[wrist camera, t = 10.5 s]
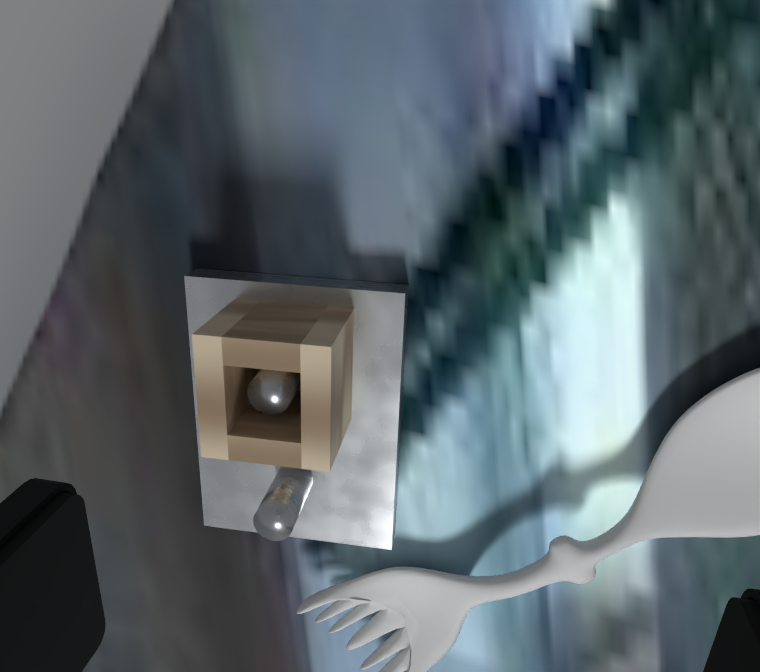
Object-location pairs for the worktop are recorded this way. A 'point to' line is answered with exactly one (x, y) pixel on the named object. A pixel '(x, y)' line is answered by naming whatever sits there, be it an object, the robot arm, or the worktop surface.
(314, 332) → the hollow wooden block
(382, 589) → the spoon
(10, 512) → the robot arm
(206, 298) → the housing plate
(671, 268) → the worktop surface
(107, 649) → the worktop surface
